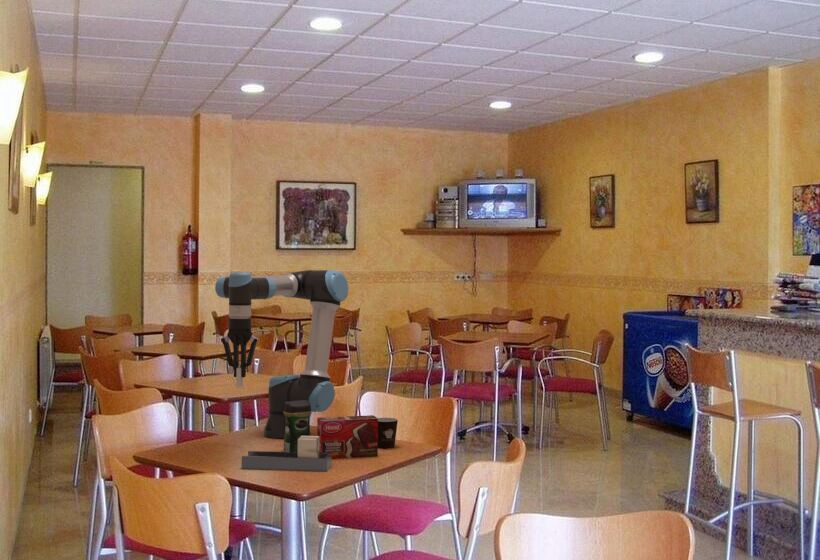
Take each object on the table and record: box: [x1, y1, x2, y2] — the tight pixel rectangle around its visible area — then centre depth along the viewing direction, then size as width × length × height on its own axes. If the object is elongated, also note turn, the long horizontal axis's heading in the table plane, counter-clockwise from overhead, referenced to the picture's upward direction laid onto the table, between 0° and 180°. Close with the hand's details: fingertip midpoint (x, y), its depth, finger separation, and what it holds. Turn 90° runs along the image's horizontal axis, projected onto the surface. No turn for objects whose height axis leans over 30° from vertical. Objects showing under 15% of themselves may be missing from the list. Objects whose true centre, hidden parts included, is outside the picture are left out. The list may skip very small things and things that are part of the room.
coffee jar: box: [283, 400, 313, 452], centre depth 320 cm, size 10×8×19 cm
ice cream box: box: [316, 414, 379, 460], centre depth 317 cm, size 20×6×13 cm, turn 107°
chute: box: [241, 450, 333, 472], centre depth 299 cm, size 9×28×4 cm, turn 85°
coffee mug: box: [377, 417, 399, 450], centre depth 333 cm, size 12×9×10 cm
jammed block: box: [298, 435, 319, 458], centre depth 299 cm, size 6×6×8 cm
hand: (239, 386), depth 311 cm, fingers closed
